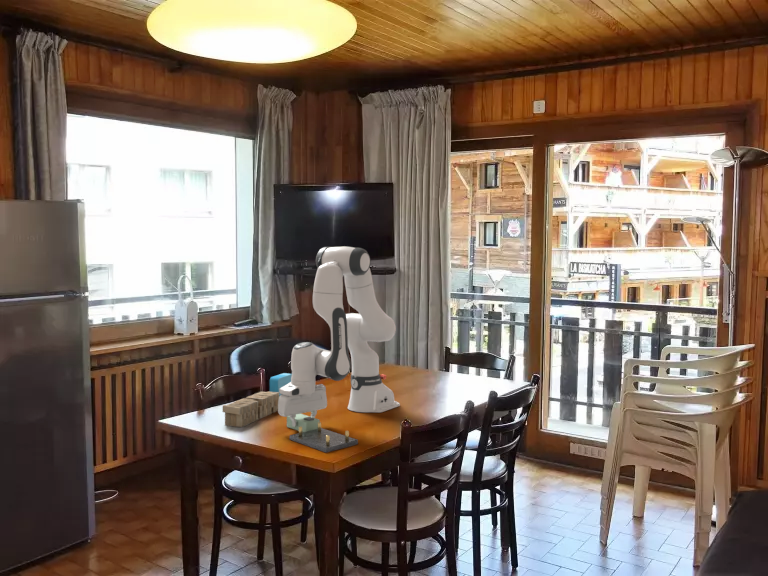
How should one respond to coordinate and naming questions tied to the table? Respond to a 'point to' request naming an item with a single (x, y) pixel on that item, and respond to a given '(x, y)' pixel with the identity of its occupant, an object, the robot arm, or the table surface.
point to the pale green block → (303, 422)
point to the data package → (279, 382)
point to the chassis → (323, 439)
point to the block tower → (251, 408)
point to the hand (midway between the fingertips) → (303, 424)
